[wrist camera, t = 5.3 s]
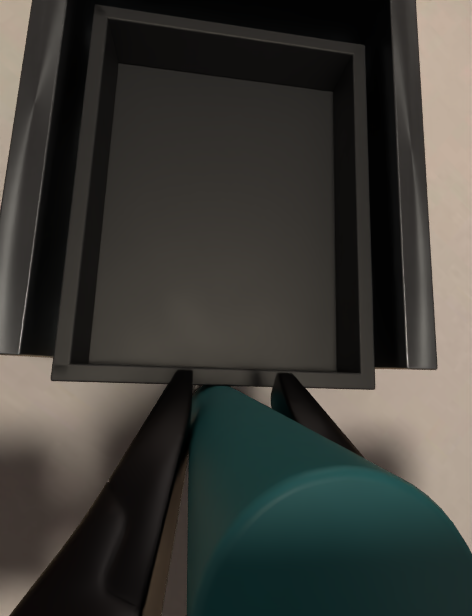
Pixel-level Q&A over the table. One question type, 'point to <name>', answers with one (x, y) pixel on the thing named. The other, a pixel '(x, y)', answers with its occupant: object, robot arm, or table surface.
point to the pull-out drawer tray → (247, 13)
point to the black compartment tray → (246, 307)
